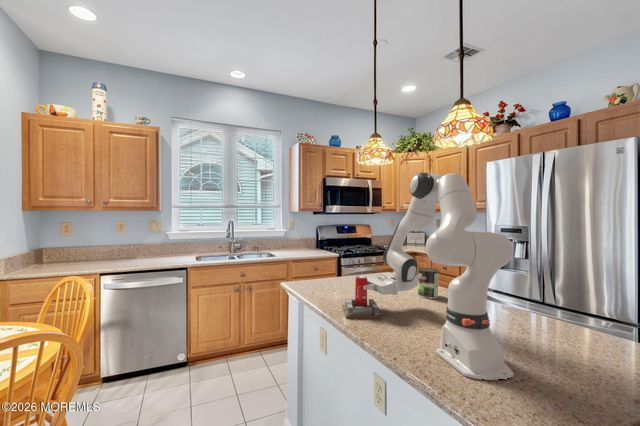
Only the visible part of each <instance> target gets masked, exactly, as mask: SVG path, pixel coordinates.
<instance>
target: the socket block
mask: <svg viewBox="0 0 640 426" xmlns="http://www.w3.org/2000/svg"><path fill="white" fill-rule="evenodd" d="M341 306H342V310H343V312H344V316H345V319H367V320H368V319H371V320H372V319H380V320H381V319H382V318H383V315H382V313H381V312H380V308H379V306H378V304H377V302H376V301H375V300H374V299H373V298H369V299H368V302H367V303H366V305H357V304H356V302H355V298H352V299H350V298H345V299H344V304H342V305H341Z"/></svg>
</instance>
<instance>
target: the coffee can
mask: <svg viewBox="0 0 640 426" xmlns="http://www.w3.org/2000/svg"><path fill="white" fill-rule="evenodd" d="M417 273H418V274H417V276H418V279H419V281H418V285H417V296H418V297H419V298H422V297H423V298H422V299H428V298H429V299H430V300H431V299H433V300H434V299H437V298H438V297H439V269H437V268H431V267H420V268H418V269H417Z"/></svg>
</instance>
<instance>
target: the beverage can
mask: <svg viewBox="0 0 640 426" xmlns="http://www.w3.org/2000/svg"><path fill="white" fill-rule="evenodd" d="M366 276H367V275H356V277H355V284H354V285H355V290H354V291H355V294H354V295H355V296H354V297H355V298H354V299H355V302H356V304H357V305H366V303H367V304H368V289H366V290H365V289H363V288H362V285H367V277H366Z"/></svg>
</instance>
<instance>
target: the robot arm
mask: <svg viewBox="0 0 640 426" xmlns="http://www.w3.org/2000/svg"><path fill="white" fill-rule="evenodd" d="M409 193H410V194H411V196H412V197H411V200H410V202H409V205H408V208H407V211H406V213H405V214H404V216H403V217H402V218H401V219H399V222H398V223H397V225H396V227H395V229H394V231H393V232H394V233H393V235H392V236H391V238H390V240H389V241H390V242H389V244H388V245H387V247H386V248H385V250H384V252H383V255H382V259H383V260H382V261H383V262H384V263H385V264H386V265H388V267H390V268H392V269H393V272H385V273H384V272H383V273H379V275H378V277H377V276H373V275H365V276H366V277H367V285H362V288H363V289H365V290H366V289H367V290H368V291H369V290H370V291H371V290H372V291H374V292H376V293H377V294H378V293H379V294H381V295H393V296H396V295H398V294H399V292H404V291H405V292H406V291H411V290H413V289H415V288H416V287H418V281H419V279H418V274H417V273H418V269H419V268H418V267H419V266H418V261H417V260H416V259H415V258H414V257H413V256H411V255H410V254H408V253H407V252H406V251H404V250H403V245H404V242H405V240H406V238H407V236H408V234H409V233H410V232H422V231H425V230H427V229H429V227H430V226H431V225H432V223H433V220H434V217H435V213H436V209H437V206H438V205H439V210H440V216H441V221H440V222H441V223H440V225H439V227H438V229H436V230H435V231H434V232H433V233H431V234H430V235H429V236H428V238H427V240H426V243H425V252H426V255H427V257H428V259H429V260H430V261H431V262H432V263H434V264H438V265H442V266H449V267H466V268H465V270H464V272H463V273H462V274H460V275H459V276H457V277H455V278H453V279H452V280H451V281H450V282H449V284H448V287H447V290H448V293H447V306H446V309H445V318H446V321H445V323H444V325H442V327H441V332H440V343H439V347H438V348H436V349H435V354H437V356H439V357H440V358H442V360H444V361H445V362H446V363H448V364H449V365H450V366H452V367H453V368H454V369H456V370H457V372H459V373H460V374H461V375H463V376H464V377H468V378H470V379H476V380H482V379H484V380H483V381H499V380H498V379H505V380H508V379H507V378H510V379H512V378H514V377H515V376H514V375H515V374H514V372H513V371H512V369H511V368H510V367H509V366H508V365H507V363H506V362H505V361H504V359H505V358H504V345H503V344H502V343H499V342H498V340H497V339H496V337H495V334H493V332H492V330H491V328H490V326H491V323H490V322H491V320H490V316H489V314H488V312H487V299H488V291H489V287H490V283H491V282H492V279H493V278H494V277H495V274H496V273H497V272H498V271H499V270H500V269H501V268H502V267H504V266H506V265H507V264H508V263H509V262H510V261H511V259H512V258H513V254H514V249H513V244H512V242H511V240H510V239H509V238H508V237H507V236H506V235H504V234H502V233H500V234H499V233H496V232H491V231H467V230H466V228H468V227H470V226H471V225H472V224H473V223H475V221H476V220H477V218H478V211H477V208H476V205H475V204H476V203H475V202H474V201H475V200H474V198H473V195H472V192H471V189H470V187H469V185H468V183H467V181H466V179H465V178H464V177H463V176H462V175H461V174H459V173H455V172H450V173H446V174H444V175H443V174H438V173H429V172H428V173H427V172H416V174H414V175H413V177H412V178H411V180H410V182H409ZM513 376H514V377H513ZM511 377H512V378H511Z"/></svg>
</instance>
